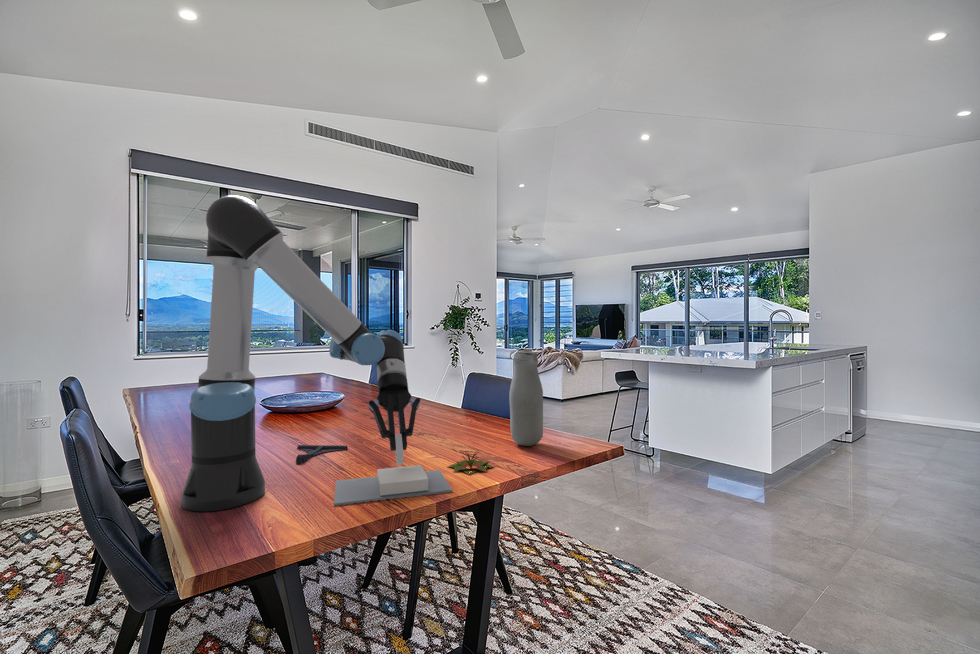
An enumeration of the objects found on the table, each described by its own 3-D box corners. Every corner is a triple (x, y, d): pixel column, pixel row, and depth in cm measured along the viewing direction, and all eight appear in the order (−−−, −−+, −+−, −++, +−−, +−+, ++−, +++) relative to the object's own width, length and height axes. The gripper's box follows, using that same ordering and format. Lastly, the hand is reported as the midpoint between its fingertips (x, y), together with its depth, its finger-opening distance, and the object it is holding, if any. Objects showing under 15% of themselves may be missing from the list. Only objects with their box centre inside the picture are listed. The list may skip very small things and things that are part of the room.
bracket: (271, 466, 120) (271, 455, 120) (299, 450, 135) (299, 440, 135) (325, 467, 119) (325, 456, 119) (347, 451, 133) (347, 441, 133)
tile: (377, 481, 104) (380, 497, 95) (377, 469, 104) (380, 484, 95) (421, 476, 107) (428, 491, 98) (421, 464, 107) (428, 478, 98)
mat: (333, 506, 92) (333, 503, 91) (335, 482, 105) (335, 480, 105) (452, 492, 99) (452, 489, 99) (439, 471, 112) (439, 469, 112)
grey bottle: (543, 440, 140) (542, 349, 140) (543, 450, 130) (543, 351, 130) (510, 440, 141) (510, 349, 141) (508, 449, 131) (508, 351, 131)
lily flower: (437, 468, 116) (437, 450, 116) (474, 459, 124) (473, 442, 124) (467, 480, 107) (467, 461, 107) (504, 469, 115) (504, 451, 115)
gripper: (367, 371, 116) (371, 456, 100) (418, 370, 120) (430, 450, 104) (366, 390, 121) (370, 473, 105) (416, 387, 125) (426, 467, 109)
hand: (400, 461), depth 105 cm, fingers closed
